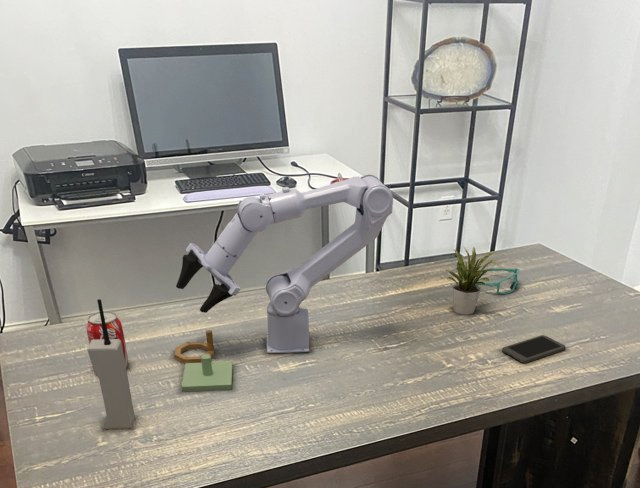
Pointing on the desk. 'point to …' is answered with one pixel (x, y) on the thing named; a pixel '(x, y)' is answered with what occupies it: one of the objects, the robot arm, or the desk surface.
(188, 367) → the peg stand
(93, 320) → the soda can
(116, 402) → the vintage mobile phone
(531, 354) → the cell phone
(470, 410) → the desk surface
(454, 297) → the house plant
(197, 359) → the maple ring
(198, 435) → the desk surface
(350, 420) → the desk surface
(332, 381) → the desk surface
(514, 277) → the sunglasses
